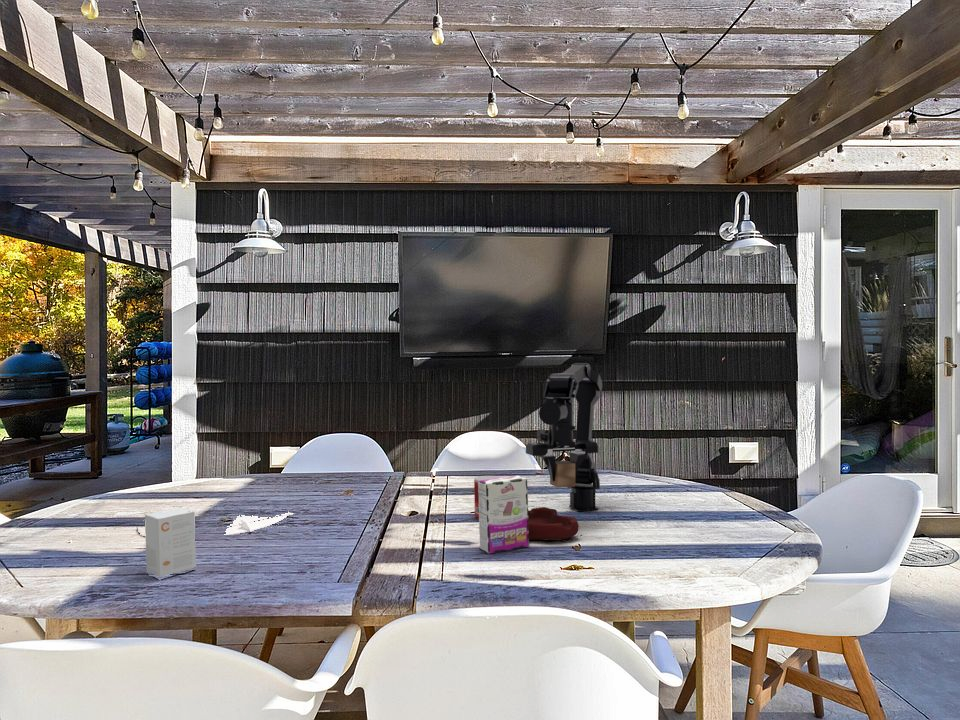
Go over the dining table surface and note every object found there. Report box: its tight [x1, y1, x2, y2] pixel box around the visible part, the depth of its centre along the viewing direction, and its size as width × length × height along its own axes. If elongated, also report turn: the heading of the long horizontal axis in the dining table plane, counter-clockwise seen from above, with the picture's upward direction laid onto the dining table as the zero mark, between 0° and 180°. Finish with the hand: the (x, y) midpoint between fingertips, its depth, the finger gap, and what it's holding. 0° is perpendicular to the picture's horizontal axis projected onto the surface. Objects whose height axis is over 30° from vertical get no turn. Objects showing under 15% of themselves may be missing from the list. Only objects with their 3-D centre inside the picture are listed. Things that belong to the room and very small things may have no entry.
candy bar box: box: [478, 475, 530, 555], centre depth 154 cm, size 11×5×16 cm, turn 117°
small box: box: [144, 507, 197, 577], centre depth 140 cm, size 8×6×13 cm
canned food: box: [473, 475, 501, 520], centre depth 183 cm, size 8×8×11 cm
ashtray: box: [528, 506, 580, 542], centre depth 164 cm, size 18×16×5 cm
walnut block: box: [549, 460, 575, 489], centre depth 173 cm, size 5×5×6 cm
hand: (562, 480), depth 173 cm, fingers closed on walnut block, 5 cm apart
